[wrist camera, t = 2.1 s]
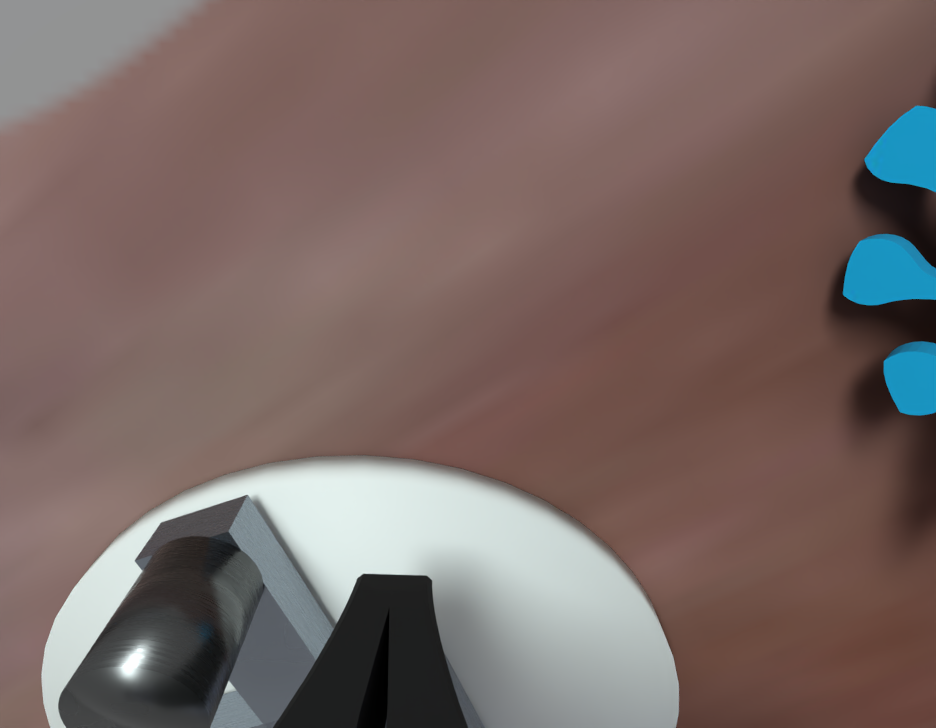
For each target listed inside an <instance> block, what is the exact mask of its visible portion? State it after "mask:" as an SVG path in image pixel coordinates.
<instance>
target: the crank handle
mask: <svg viewBox="0 0 936 728" xmlns="http://www.w3.org/2000/svg"><path fill="white" fill-rule="evenodd" d="M135 562H136V564H137V565H138V566H139V567H140V569H141V570H142V572H141V574H140V575H139V577H138V578H137V580H136V581H135V583H134V584H133V586H132V587H131V589H130V590H129V592H128V593H127V595H126V596H125V598H124V599H123V601H122V602H121V604H120V605H119V607H118V608H117V610H116V611H115V613H114V614H113V616H112V617H111V619H110V620H109V622H108V623H107V625H106V626H105V628H104V629H103V631H102V632H101V634H100V635H99V637H98V638H97V640H96V641H95V643H94V644H93V646H92V647H91V649H90V650H89V652H88V653H87V655H86V656H85V658H84V659H83V661H82V662H81V664H80V665H79V667H78V668H77V670H76V671H75V673H74V674H73V676H72V677H71V679H70V680H69V682H68V683H67V685H66V686H65V688H64V689H63V691H62V692H61V695H60V697H59V702H58V710H59V714H60V718H61V720H62V722H63V724H64V725H65V727H66V728H273V726H274V725H275V724H276V722H277V721H278V719H279V718H280V716H281V715H282V713H283V712H284V710H285V709H286V707H287V706H288V704H289V702H290V701H291V699H292V698H293V696H294V695H295V693H296V692H297V690H298V689H299V687H300V686H301V684H302V683H303V681H304V680H305V678H306V676H307V675H308V673H309V671H310V670H311V668H312V666H313V665H314V663H315V661H316V659H317V658H318V656H319V654H320V653H321V651H322V649H323V647H324V646H325V644H326V642H327V640H328V639H329V637H330V635H331V633H332V631H333V630H334V628H333V627H332V625H331V624H330V622H329V621H328V619H327V618H326V616H325V614H324V613H323V611H322V610H321V608H320V607H319V605H318V603H317V602H316V600H315V599H314V597H313V596H312V594H311V593H310V591H309V589H308V588H307V586H306V585H305V583H304V582H303V580H302V578H301V577H300V575H299V574H298V572H297V571H296V569H295V568H294V566H293V564H292V563H291V561H290V560H289V558H288V557H287V555H286V553H285V552H284V550H283V549H282V547H281V546H280V544H279V543H278V541H277V539H276V538H275V536H274V535H273V533H272V532H271V530H270V528H269V527H268V525H267V524H266V522H265V521H264V519H263V518H262V516H261V514H260V513H259V511H258V510H257V508H256V507H255V505H254V504H253V502H252V500H251V499H250V497H249V496H248V495H245V496H242V497H239V498H236V499H233V500H230V501H226V502H223V503H220V504H217V505H214V506H211V507H208V508H205V509H202V510H198V511H195V512H192V513H189V514H186V515H183V516H180V517H177V518H173V519H170V520H167V521H164V522H161V523H160V525H159V526H158V528H157V529H156V530H155V532H154V533H153V535H152V536H151V538H150V539H149V541H148V542H147V543H146V545H145V546H144V548H143V549H142V551H141V552H140V553H139V555H138V556H137V558H136V559H135ZM444 655H445V653H444ZM445 658H446V662H447V665H448V668H449V672H450V675H451V679H452V682H453V685H454V688H455V692H456V695H457V698H458V701H459V704H460V706H461V709H462V712H463V715H464V718H465V720H466V723H467V726H468V728H485V727H484V725H483V723H482V721H481V720H480V718H479V716H478V714H477V712H476V710H475V709H474V707H473V705H472V703H471V701H470V699H469V697H468V696H467V694H466V692H465V690H464V688H463V686H462V684H461V683H460V681H459V679H458V677H457V675H456V673H455V672H454V670H453V668H452V666H451V664H450V662H449V660H448V659H447V657H446V655H445ZM228 681H230V683H231V684H232V685H233V686H234V688H235V689H236V690H237V691H234V692H230V693H226V694H224V691H225V689H226V686H227V683H228ZM386 724H387V721H386ZM385 728H386V726H385Z"/></svg>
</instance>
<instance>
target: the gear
mask: <svg viewBox="0 0 936 728" xmlns="http://www.w3.org/2000/svg"><path fill="white" fill-rule="evenodd" d="M864 161H865V163H866V165H867V168H868V169H869V170H870V171H871V173H872V174H873V175H875V176H876V177H878V178H879V179H881V180H884V181H887V182H891V183H902V184H911V185H915V186H919V187H923V188H927V189H929V190H932V191H934V192H936V109H934V108H931V107H926V106H915V107H914V108H912V109H911V110H910V111H908V112H907V113H905V114H904V115H902V116H901V117H900V118H899V119H898V120H897V121H896V122H895V123H894V124H892V125H891V126H890V127H889V128H888V130H887V131H886V132H885V133H884V134H883V135H882V137H881V138H880V139H879V140H878V141H877V143H876V144H875V145H874V147H873V148H872V149H871V151H870V152H869V154H868V155H867V156H866V158H865V159H864ZM843 295H844V296H845V297H846V298H848V299H849V300H851V301H853V302H856V303H858V304H863V305H880V304H884V303H888V302H892V301H898V300H908V299H933V300H936V268H934V267H932V266H931V265H930V264H929V263H928V262H927V261H926V260H925V258H924V257H923V256H922V255H921V253H920V252H919V251H918V250H917V249H916V247H915V246H914V245H913V244H912V243H911V242H910V241H908V240H906V239H905V238H903V237H900V236H897V235H892V234H877V235H873V236H870V237H867V238H865V239H863V240H861V241H860V242H859V243H858V245H857V246H856V248H855V249H854V251H853V252H852V255H851V257H850V260H849V262H848V265H847V270H846V274H845V280H844V289H843ZM884 376H885V380H886V384H887V387H888V389H889V392H890V394H891V396H892V398H893V400H894V402H895V404H896V406H897V408H898V409H899V411H900V412H901V413H905V414H909V415H927V414H932V413H935V412H936V344H935V343H931V342H924V341H921V342H911V343H906V344H904V345H901V346H899V347H897V348H896V349H894V350H893V351H892V352H891V353H890V354H889V355H888V357H887V358H886V359H885V360H884Z"/></svg>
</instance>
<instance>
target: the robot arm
mask: <svg viewBox="0 0 936 728" xmlns="http://www.w3.org/2000/svg"><path fill="white" fill-rule="evenodd" d="M386 721H387V724H386ZM385 726H386V728H468V726H467V723H466V720H465V718H464V715H463V712H462V709H461V706H460V704H459V701H458V698H457V695H456V692H455V688H454V685H453V682H452V679H451V675H450V672H449V668H448V665H447V662H446V658H445V655H444V651H443V647H442V643H441V639H440V635H439V630H438V625H437V621H436V615H435V609H434V602H433V592H432V580H431V579H430V578H429V577H428V576H426V575H393V574H362V575H361V576H359V577H358V578H357V580H356V583H355V586H354V588H353V591H352V593H351V595H350V597H349V600H348V602H347V604H346V606H345V608H344V610H343V612H342V614H341V616H340V618H339V620H338V622H337V624H336V626H335V628H334V630H333V631H332V633H331V635H330V637H329V639H328V640H327V642H326V644H325V646H324V647H323V649H322V651H321V653H320V654H319V656H318V658H317V659H316V661H315V663H314V665H313V666H312V668H311V670H310V671H309V673H308V675H307V676H306V678H305V680H304V681H303V683H302V684H301V686H300V687H299V689H298V690H297V692H296V693H295V695H294V696H293V698H292V699H291V701H290V702H289V704H288V706H287V707H286V709H285V710H284V712H283V713H282V715H281V716H280V718H279V719H278V721H277V722H276V724H275V725H274V726H273V728H385Z"/></svg>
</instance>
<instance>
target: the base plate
mask: <svg viewBox="0 0 936 728" xmlns="http://www.w3.org/2000/svg"><path fill="white" fill-rule="evenodd" d="M245 495H248V496H249V497H250V499H251V500H252V502H253V504H254V505H255V507H256V508H257V510H258V511H259V513H260V514H261V516H262V518H263V519H264V521H265V522H266V524H267V525H268V527H269V528H270V530H271V532H272V533H273V535H274V536H275V538H276V539H277V541H278V543H279V544H280V546H281V547H282V549H283V550H284V552H285V553H286V555H287V557H288V558H289V560H290V561H291V563H292V564H293V566H294V568H295V569H296V571H297V572H298V574H299V575H300V577H301V578H302V580H303V582H304V583H305V585H306V586H307V588H308V589H309V591H310V593H311V594H312V596H313V597H314V599H315V600H316V602H317V603H318V605H319V607H320V608H321V610H322V611H323V613H324V614H325V616H326V618H327V619H328V621H329V622H330V624H331V625H332V627H333V628H335V626H336V624H337V622H338V620H339V618H340V616H341V614H342V612H343V610H344V608H345V606H346V604H347V602H348V600H349V597H350V595H351V593H352V591H353V588H354V586H355V583H356V580H357V578H358V577H359V576H361V575H362V574H393V575H426V576H428V577H429V578H430V579H431V580H432V592H433V602H434V609H435V615H436V621H437V625H438V630H439V635H440V639H441V643H442V647H443V651H444V653H445V655H446V657H447V659H448V660H449V662H450V664H451V666H452V668H453V670H454V672H455V673H456V675H457V677H458V679H459V681H460V683H461V684H462V686H463V688H464V690H465V692H466V694H467V696H468V697H469V699H470V701H471V703H472V705H473V707H474V709H475V710H476V712H477V714H478V716H479V718H480V720H481V721H482V723H483V725H484V727H485V728H676V724H677V719H678V714H679V683H678V678H677V673H676V668H675V663H674V658H673V655H672V653H671V650H670V647H669V645H668V642H667V640H666V637H665V635H664V632H663V629H662V627H661V624H660V622H659V620H658V617H657V615H656V612H655V610H654V607H653V605H652V603H651V600H650V598H649V597H648V595H647V594H646V592H645V590H644V589H643V587H642V586H641V584H640V583H639V581H638V579H637V578H636V576H635V575H634V573H633V572H632V571H631V570H630V568H629V567H628V566H627V565H626V564H625V563H624V562H623V561H622V560H621V558H620V557H619V556H618V555H617V554H616V553H615V552H614V551H613V550H612V548H611V547H610V546H609V545H607V544H606V543H605V542H604V541H603V540H601V539H600V538H599V537H598V536H596V535H595V534H594V533H593V532H592V531H590V530H589V529H588V528H587V527H586V526H584V525H583V524H582V523H581V522H579V521H578V520H576V519H574V518H573V517H571V516H570V515H568V514H566V513H565V512H563V511H561V510H560V509H558V508H557V507H555V506H553V505H552V504H550V503H548V502H547V501H545V500H543V499H541V498H538V497H536V496H534V495H532V494H530V493H527V492H525V491H523V490H521V489H519V488H516V487H514V486H512V485H510V484H508V483H505V482H502V481H499V480H496V479H493V478H490V477H486V476H483V475H480V474H477V473H474V472H471V471H468V470H464V469H461V468H456V467H451V466H446V465H441V464H436V463H431V462H426V461H421V460H415V459H405V458H393V457H381V456H370V455H353V456H316V457H309V458H302V459H295V460H287V461H280V462H273V463H267V464H264V465H260V466H256V467H252V468H248V469H244V470H241V471H237V472H233V473H229V474H225V475H223V476H220V477H218V478H215V479H213V480H210V481H208V482H205V483H203V484H200V485H198V486H195V487H193V488H190V489H188V490H185V491H183V492H181V493H180V494H178V495H176V496H174V497H173V498H171V499H169V500H167V501H166V502H164V503H162V504H160V505H158V506H157V507H155V508H153V509H151V510H150V511H148V512H147V513H146V514H144V515H143V516H142V517H141V518H139V519H138V520H137V521H136V522H134V523H133V524H132V525H130V526H129V527H128V528H127V529H125V530H124V531H123V532H122V533H120V534H119V535H118V536H117V537H116V538H115V540H114V541H113V542H112V543H111V544H110V545H109V546H108V547H107V548H106V550H105V551H104V552H103V553H102V554H101V555H100V556H99V557H98V558H97V559H96V561H95V562H94V563H93V564H92V566H91V567H90V568H89V570H88V571H87V572H86V573H85V575H84V576H83V577H82V579H81V580H80V581H79V582H78V584H77V585H76V586H75V587H74V589H73V590H72V592H71V594H70V595H69V597H68V598H67V600H66V602H65V603H64V605H63V607H62V608H61V610H60V611H59V613H58V615H57V616H56V618H55V621H54V624H53V627H52V629H51V632H50V635H49V638H48V640H47V643H46V646H45V653H44V660H43V668H42V675H41V677H42V689H43V702H44V707H45V711H46V714H47V718H48V721H49V725H50V728H66V727H65V725H64V724H63V722H62V720H61V718H60V714H59V710H58V702H59V697H60V695H61V692H62V691H63V689H64V688H65V686H66V685H67V683H68V682H69V680H70V679H71V677H72V676H73V674H74V673H75V671H76V670H77V668H78V667H79V665H80V664H81V662H82V661H83V659H84V658H85V656H86V655H87V653H88V652H89V650H90V649H91V647H92V646H93V644H94V643H95V641H96V640H97V638H98V637H99V635H100V634H101V632H102V631H103V629H104V628H105V626H106V625H107V623H108V622H109V620H110V619H111V617H112V616H113V614H114V613H115V611H116V610H117V608H118V607H119V605H120V604H121V602H122V601H123V599H124V598H125V596H126V595H127V593H128V592H129V590H130V589H131V587H132V586H133V584H134V583H135V581H136V580H137V578H138V577H139V575H140V574H141V572H142V570H141V569H140V567H139V566H138V565H137V564H136V562H135V559H136V558H137V556H138V555H139V553H140V552H141V551H142V549H143V548H144V546H145V545H146V543H147V542H148V541H149V539H150V538H151V536H152V535H153V533H154V532H155V530H156V529H157V528H158V526H159V525H160V523H161V522H164V521H167V520H170V519H173V518H177V517H180V516H183V515H186V514H189V513H192V512H195V511H198V510H202V509H205V508H208V507H211V506H214V505H217V504H220V503H223V502H226V501H230V500H233V499H236V498H239V497H242V496H245ZM234 691H237V690H236V689H235V688H234V686H233V685H232V684H231V683H230V681H228V683H227V686H226V689H225V691H224V694H226V693H230V692H234Z"/></svg>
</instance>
